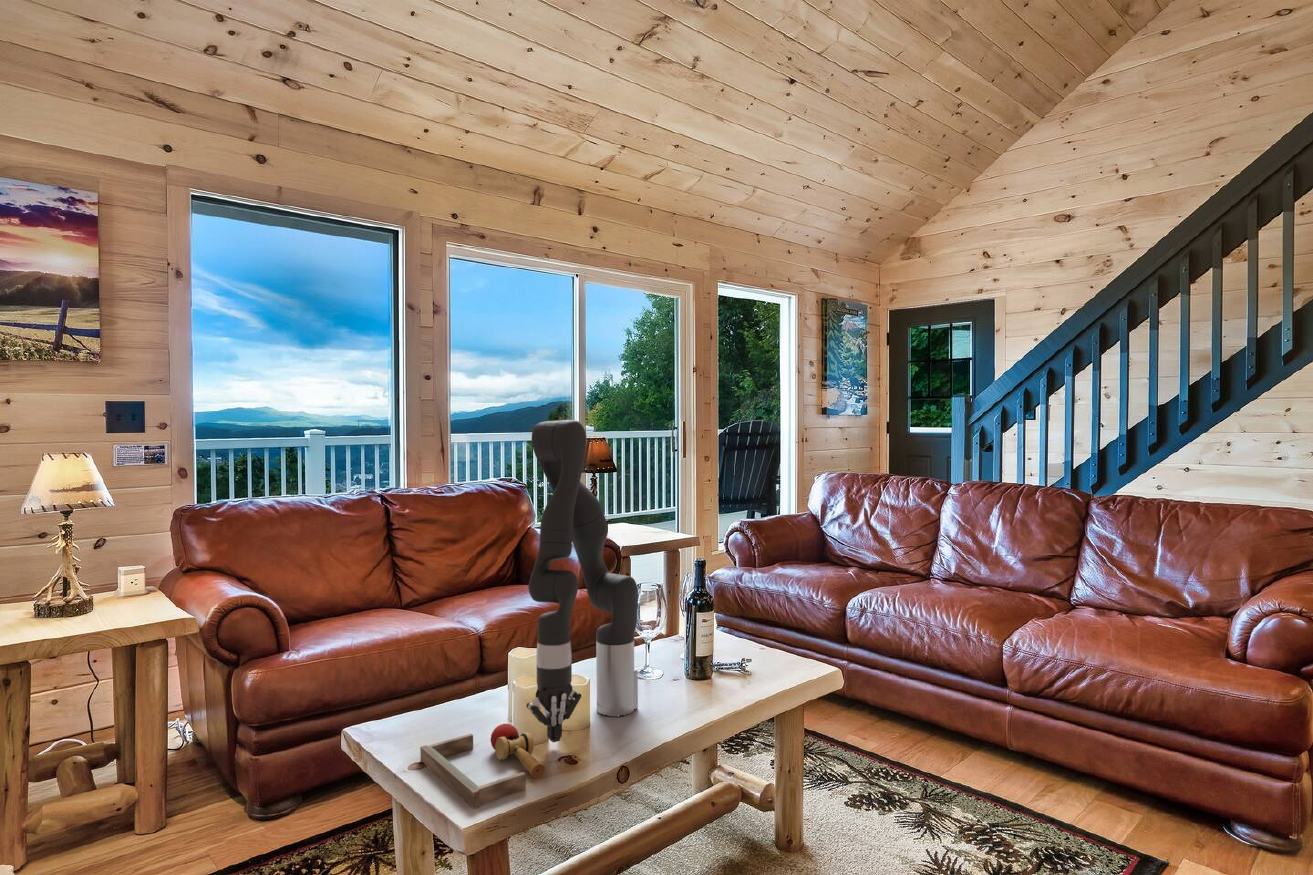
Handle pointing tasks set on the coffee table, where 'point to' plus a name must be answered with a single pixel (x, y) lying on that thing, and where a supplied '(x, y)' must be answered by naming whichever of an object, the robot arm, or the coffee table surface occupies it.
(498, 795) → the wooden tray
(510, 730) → the kendama
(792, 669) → the coffee table surface
